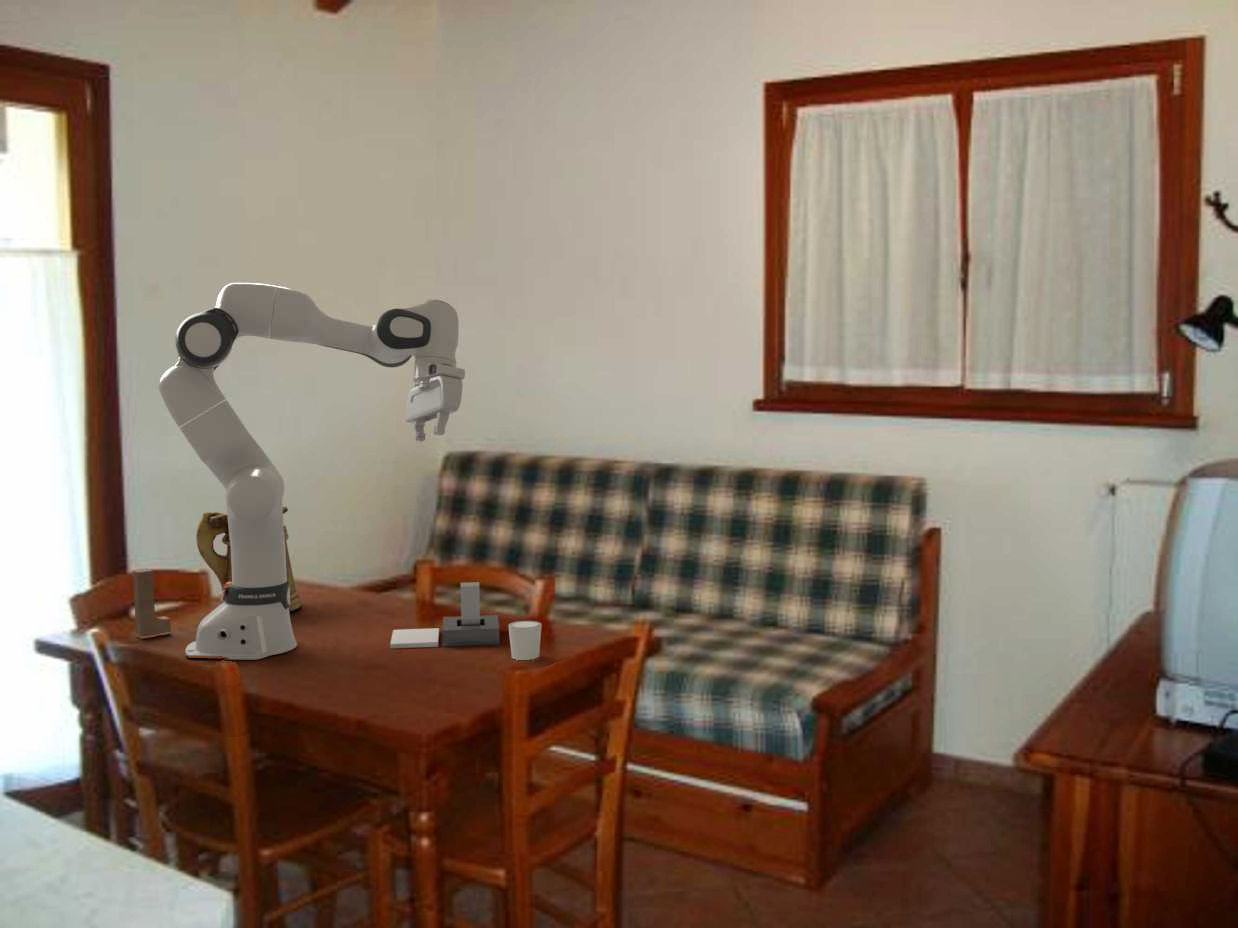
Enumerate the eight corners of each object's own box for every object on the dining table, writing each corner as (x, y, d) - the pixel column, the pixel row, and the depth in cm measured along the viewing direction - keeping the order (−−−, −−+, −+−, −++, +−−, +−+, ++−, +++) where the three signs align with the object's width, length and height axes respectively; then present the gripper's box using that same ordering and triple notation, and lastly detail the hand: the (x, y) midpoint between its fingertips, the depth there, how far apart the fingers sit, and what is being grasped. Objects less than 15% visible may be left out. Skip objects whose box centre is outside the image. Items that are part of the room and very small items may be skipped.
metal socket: (442, 646, 262) (442, 630, 261) (443, 632, 274) (443, 616, 273) (499, 644, 263) (499, 628, 263) (497, 630, 275) (497, 615, 275)
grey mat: (390, 648, 260) (390, 643, 260) (393, 634, 272) (393, 629, 272) (438, 646, 262) (438, 641, 262) (439, 632, 273) (439, 628, 273)
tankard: (311, 612, 293) (307, 508, 290) (210, 625, 281) (205, 517, 278) (288, 598, 308) (284, 499, 305) (191, 610, 296) (186, 507, 293)
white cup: (548, 655, 254) (548, 622, 253) (528, 663, 248) (528, 629, 248) (522, 651, 258) (521, 618, 257) (501, 658, 252) (501, 625, 251)
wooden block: (141, 639, 269) (137, 572, 267) (135, 637, 271) (132, 570, 269) (171, 634, 273) (167, 568, 271) (165, 631, 275) (162, 566, 274)
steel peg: (461, 640, 266) (460, 586, 265) (461, 636, 270) (460, 582, 269) (480, 640, 267) (479, 585, 265) (480, 635, 271) (479, 582, 269)
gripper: (401, 381, 272) (395, 442, 269) (442, 363, 255) (436, 428, 252) (427, 386, 275) (421, 446, 273) (469, 369, 258) (464, 433, 256)
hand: (429, 438), depth 262 cm, fingers open, 8 cm apart
